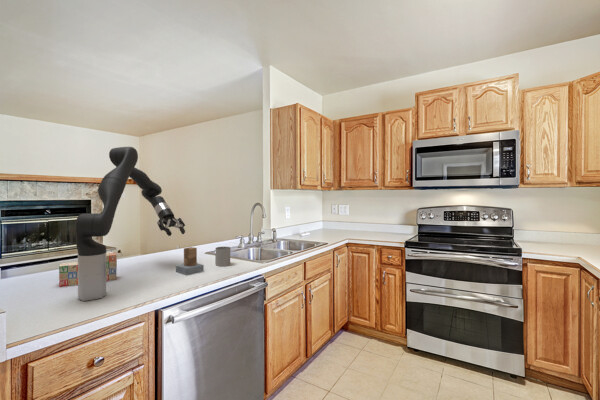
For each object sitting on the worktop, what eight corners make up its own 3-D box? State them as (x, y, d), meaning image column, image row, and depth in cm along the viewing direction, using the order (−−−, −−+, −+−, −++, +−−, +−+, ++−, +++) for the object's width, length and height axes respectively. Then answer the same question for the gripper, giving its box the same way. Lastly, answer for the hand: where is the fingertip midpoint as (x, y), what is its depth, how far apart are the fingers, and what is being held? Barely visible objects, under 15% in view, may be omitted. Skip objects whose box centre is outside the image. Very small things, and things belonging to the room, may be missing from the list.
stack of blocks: (58, 287, 126) (58, 259, 126) (60, 283, 131) (60, 256, 131) (116, 280, 138) (116, 254, 138) (116, 276, 143) (116, 252, 143)
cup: (233, 264, 171) (233, 247, 170) (222, 267, 164) (222, 249, 163) (223, 262, 175) (223, 246, 175) (212, 265, 168) (212, 248, 168)
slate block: (203, 272, 155) (203, 264, 155) (186, 276, 147) (186, 268, 147) (192, 269, 161) (192, 262, 161) (175, 272, 153) (175, 265, 153)
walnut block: (196, 264, 155) (196, 247, 155) (190, 266, 151) (190, 249, 151) (190, 263, 157) (190, 247, 157) (183, 265, 152) (183, 248, 152)
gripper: (155, 208, 156) (169, 231, 151) (178, 207, 169) (191, 228, 163) (149, 217, 159) (162, 240, 154) (172, 216, 171) (185, 236, 166)
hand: (177, 234), depth 158 cm, fingers open, 8 cm apart
